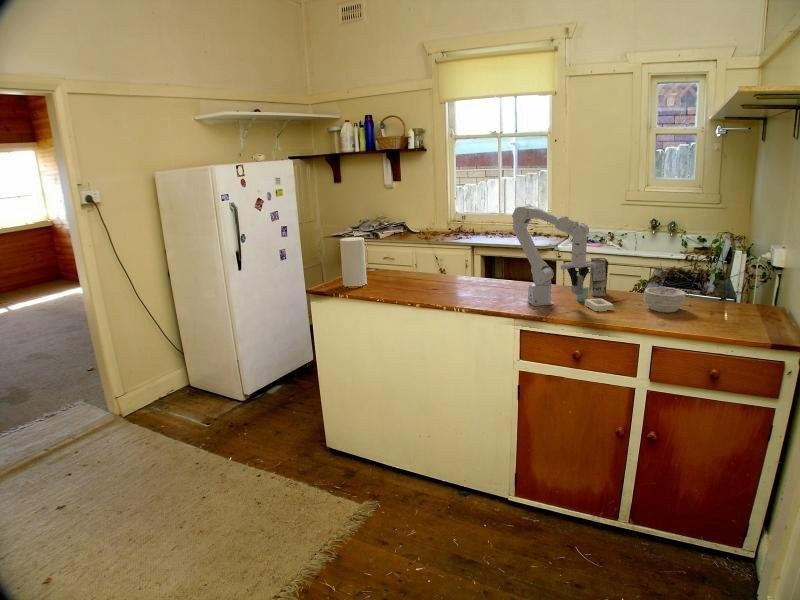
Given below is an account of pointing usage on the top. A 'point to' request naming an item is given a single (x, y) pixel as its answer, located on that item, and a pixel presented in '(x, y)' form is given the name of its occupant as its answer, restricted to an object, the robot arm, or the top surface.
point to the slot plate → (598, 304)
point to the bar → (578, 285)
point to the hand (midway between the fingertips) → (577, 285)
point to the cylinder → (353, 261)
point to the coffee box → (598, 277)
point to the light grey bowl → (664, 299)
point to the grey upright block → (583, 295)
